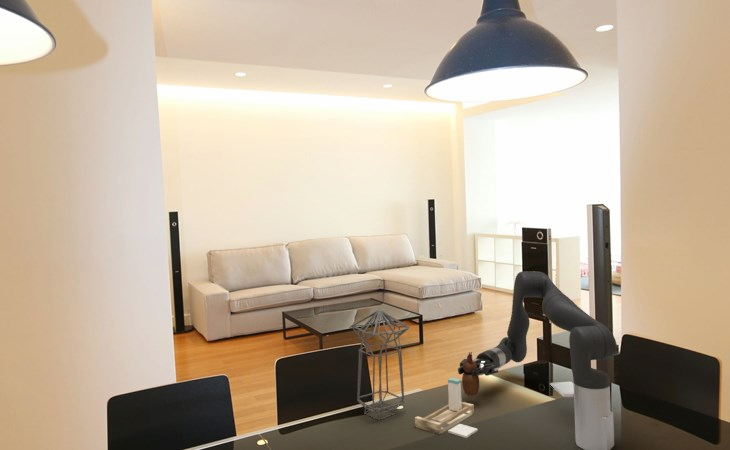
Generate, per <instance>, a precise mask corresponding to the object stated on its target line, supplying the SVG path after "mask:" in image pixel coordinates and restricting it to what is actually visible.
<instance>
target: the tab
mask: <svg viewBox="0 0 730 450" xmlns="http://www.w3.org/2000/svg"><path fill="white" fill-rule="evenodd" d="M461 382H462V379H459V378H454V377H450V378H448V379H447V388H448V400H449V410H453V411H457V412H458V411H460V410H461V409H462V402H463V401H462V386H461V385H462V383H461Z"/></svg>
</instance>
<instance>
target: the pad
mask: <svg viewBox="0 0 730 450" xmlns="http://www.w3.org/2000/svg"><path fill="white" fill-rule="evenodd" d="M477 432H478V428H476V427H472V426H469V425H466V424H462V423H458V424H456V425H454V426H453V427H451V428H449V429H448V430H447V433H449V434H452V435H455V436H459V437H461V438H464V439H467V438H469V437H470V436H471V435H473V434H475V433H477Z"/></svg>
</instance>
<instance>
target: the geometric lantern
mask: <svg viewBox="0 0 730 450" xmlns="http://www.w3.org/2000/svg"><path fill="white" fill-rule="evenodd" d="M367 319H368V320H367ZM366 320H367V321H366ZM364 321H366V322H365V323H364V324H360V323H361V322H364ZM381 323H382V324H383V329H384V331H383V332H380V328H381V327H380V326H381ZM398 324H399V325H398ZM386 325H387V326H388V328H389V329H390V331H391V332H388V330H387V326H386ZM373 326H374V328H373ZM359 327H360V328H359ZM348 328H351V329H352V330H353V331H354V332H355V334H356V335H357V336H358V340H359V341H360V340H361V341H360V348H359V349H358V350H357V351H358V365H357V366H358V371H357V394H356V395H357V397H356V398H357V399H356V400H357V402H358V404H360V405H361V407H363V408H364V411H363V412H364V415H365V414H366V416H367V417H370V416H371V417H370V418H372V417H373V419H375V420H377V419H378V421H379V420H380V419H381V420H384V419H386V418H389V417H391V415H392V416H394V415H396V414H397V409H398V408H399V407H401V406H402V405H404V404H405V392H404V374H403V373H404V372H403V356H402V348H401V342H400V338H401V336H402V335H403V334H404V333H406V332H407V331H408V330H409V329H410V326H409V325H407V324H406V323H404V322H402V321H401V320H399V319H397V318H395V317H393V316H392V315H390V314H389V313H387V312H385V311H384V310H381V309H380V310H375V311H374V312H372V313H370V314H369V315H367V316H365V317H363V318H362V319H360V320H358V321H356V322H354V323H353V324H350V325H349V327H348ZM368 328H370V331H368ZM377 328H378V330H377ZM396 328H398V330H397V331H395V329H396ZM401 328H402V329H401ZM357 330H358V331H357ZM376 331H378V332H377V333H378V334H377V333H376ZM360 332H361V333H362V336H361V335H360ZM366 335H369V336H368V337H366V338H365V336H366ZM384 335H386V337H385V336H384ZM392 335H393V337H394V338H392V339H391V337H392ZM373 336H375V337H376V338H377V340H378V341H379V342H380V343H377V344H373V345H369V343H368V340H369V339H370V338H372V337H373ZM378 336H380V337H381V338H382V339H384V340H385V341H386V342H385V343H383V342H382V341H381V339H379V337H378ZM397 339H398V342H397ZM364 342H365V344H366V346H363V344H364ZM391 342H394V343H395V347H394V346H391V345H390V344H388V343H391ZM398 345H399V346H398ZM376 346H379V347H380V349H379V350H380V351H379V353H378V354H374V352H373V351H372V348H371V347H376ZM387 347H389V348H391V349H395V350H397V351H393V352H389V353H388V348H387ZM367 348H368V350H369V351H370V352H369V353H368V352H367V351H364V350H363V349H367ZM384 349H385V351H384ZM383 351H384V352H385V353H384V354H383ZM363 353H364V354H367V355H369V356H371V357H372V392H371V393H368V394H367V393H366V394H364V395H363V394H362V395H361V383H362V380H361V379H362V369H363V368H362V366H363ZM392 354H393V355H394V354H397V356H398V365H399V366H398V367H399V377H400V378H399V381H400V388H401V389H400V390H401V396H398V395H396V394H395V393H392V392H390V391H389V373H388V372H389V371H388V355H392ZM384 356H385V376H386V377H385V380H386V381H385V382H386V383H385V384H386V390H382V363H383V362H382V357H384ZM376 357H377V358H378V360H377V361H378V377H379V378H378V380H379V382H378V383H379V385H378V386H379V387H378V391H375V378H376V377H375V367H376V364H375V363H376V361H375V360H376V359H375V358H376ZM383 393H385V394H384V396H383V395H382V394H383ZM375 394H378V401H375ZM387 394H388V395H391V396H393V397H396V398H398V399H400V401H399V402H398V403H395V404H391V403H389V402H386V401H384V400H385V399H386V396H387ZM371 395H372V403H370V404H367V403H365V402H364V401H362V400H361V399H362V398H365V397H368V396H371ZM377 403H378V406H377V407H375V404H377ZM384 404H386V405H388V406H384ZM393 407H394V408H393ZM379 410H380V412H378V411H379ZM383 410H385V411H383ZM370 412H372V413H375V414H377V417H375V416H373V415H370V414H369V413H370ZM387 412H392V413H391V414H389V415H386V416H384V417H383V414H385V413H387Z"/></svg>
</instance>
